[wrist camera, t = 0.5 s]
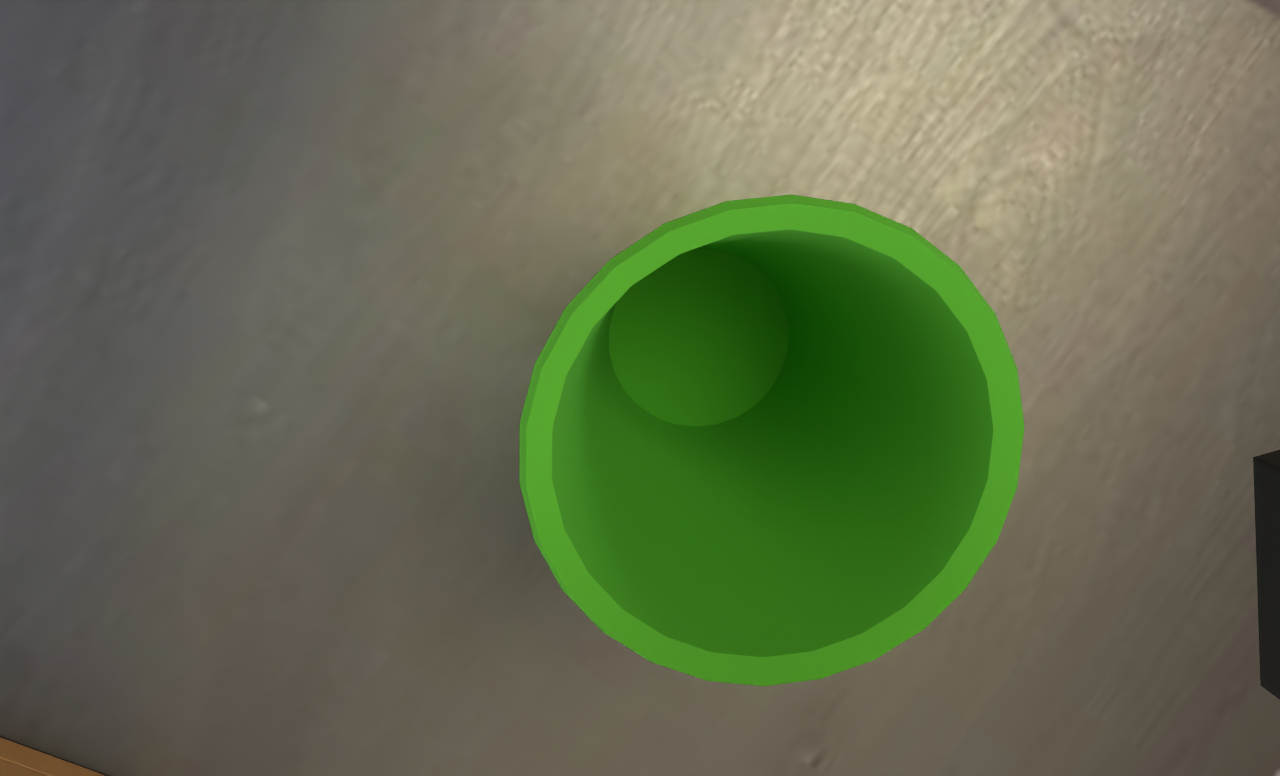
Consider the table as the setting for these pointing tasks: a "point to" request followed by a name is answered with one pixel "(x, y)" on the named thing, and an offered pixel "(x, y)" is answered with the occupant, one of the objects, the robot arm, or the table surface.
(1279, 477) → the robot arm
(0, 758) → the square wooden tray
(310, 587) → the table surface
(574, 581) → the cup
